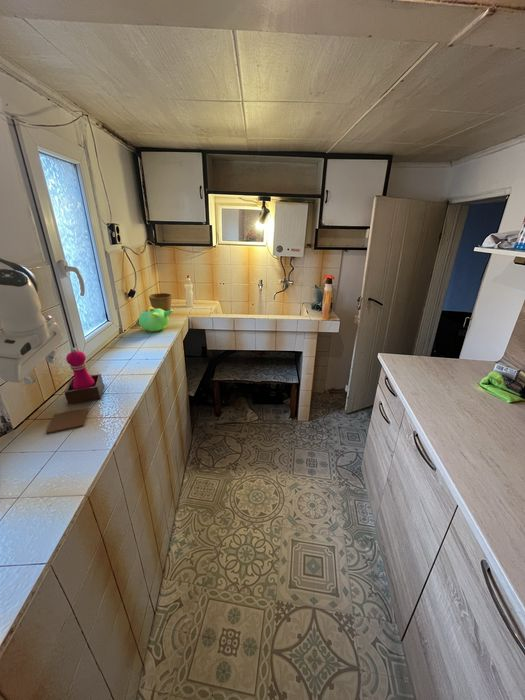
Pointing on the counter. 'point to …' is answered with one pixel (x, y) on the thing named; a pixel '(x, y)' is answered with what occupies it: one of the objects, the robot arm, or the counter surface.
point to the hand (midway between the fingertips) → (41, 371)
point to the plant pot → (161, 301)
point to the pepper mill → (79, 370)
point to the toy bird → (154, 319)
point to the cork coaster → (68, 420)
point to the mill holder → (84, 391)
